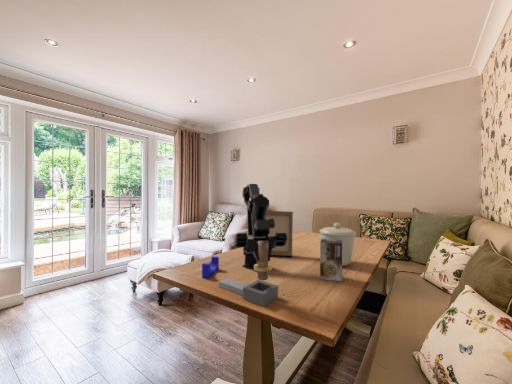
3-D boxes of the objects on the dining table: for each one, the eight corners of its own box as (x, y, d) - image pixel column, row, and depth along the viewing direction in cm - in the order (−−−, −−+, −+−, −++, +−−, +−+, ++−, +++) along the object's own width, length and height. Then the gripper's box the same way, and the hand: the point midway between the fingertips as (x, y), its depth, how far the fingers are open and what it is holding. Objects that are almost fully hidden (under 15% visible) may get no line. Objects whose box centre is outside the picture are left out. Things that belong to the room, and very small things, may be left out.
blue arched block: (209, 268, 115) (209, 256, 115) (218, 269, 114) (218, 256, 114) (198, 277, 103) (198, 263, 103) (208, 278, 102) (208, 264, 102)
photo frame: (291, 257, 134) (292, 212, 134) (253, 255, 137) (253, 211, 137) (292, 251, 148) (292, 210, 148) (257, 249, 152) (257, 209, 152)
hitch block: (230, 281, 99) (231, 271, 99) (277, 297, 86) (278, 285, 85) (215, 288, 92) (215, 277, 92) (263, 306, 79) (263, 294, 78)
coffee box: (341, 276, 106) (342, 240, 106) (342, 282, 100) (342, 243, 100) (320, 274, 109) (321, 238, 109) (319, 279, 103) (320, 241, 103)
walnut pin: (264, 273, 89) (265, 238, 89) (275, 279, 84) (276, 242, 84) (250, 277, 86) (250, 240, 85) (260, 283, 80) (260, 244, 80)
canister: (320, 267, 118) (320, 224, 117) (317, 257, 136) (318, 219, 135) (359, 270, 115) (360, 226, 114) (351, 259, 132) (352, 220, 132)
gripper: (236, 210, 87) (237, 249, 76) (286, 210, 89) (294, 248, 79) (234, 228, 95) (236, 265, 84) (281, 228, 97) (288, 264, 87)
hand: (263, 260), depth 83 cm, fingers closed on walnut pin, 4 cm apart
